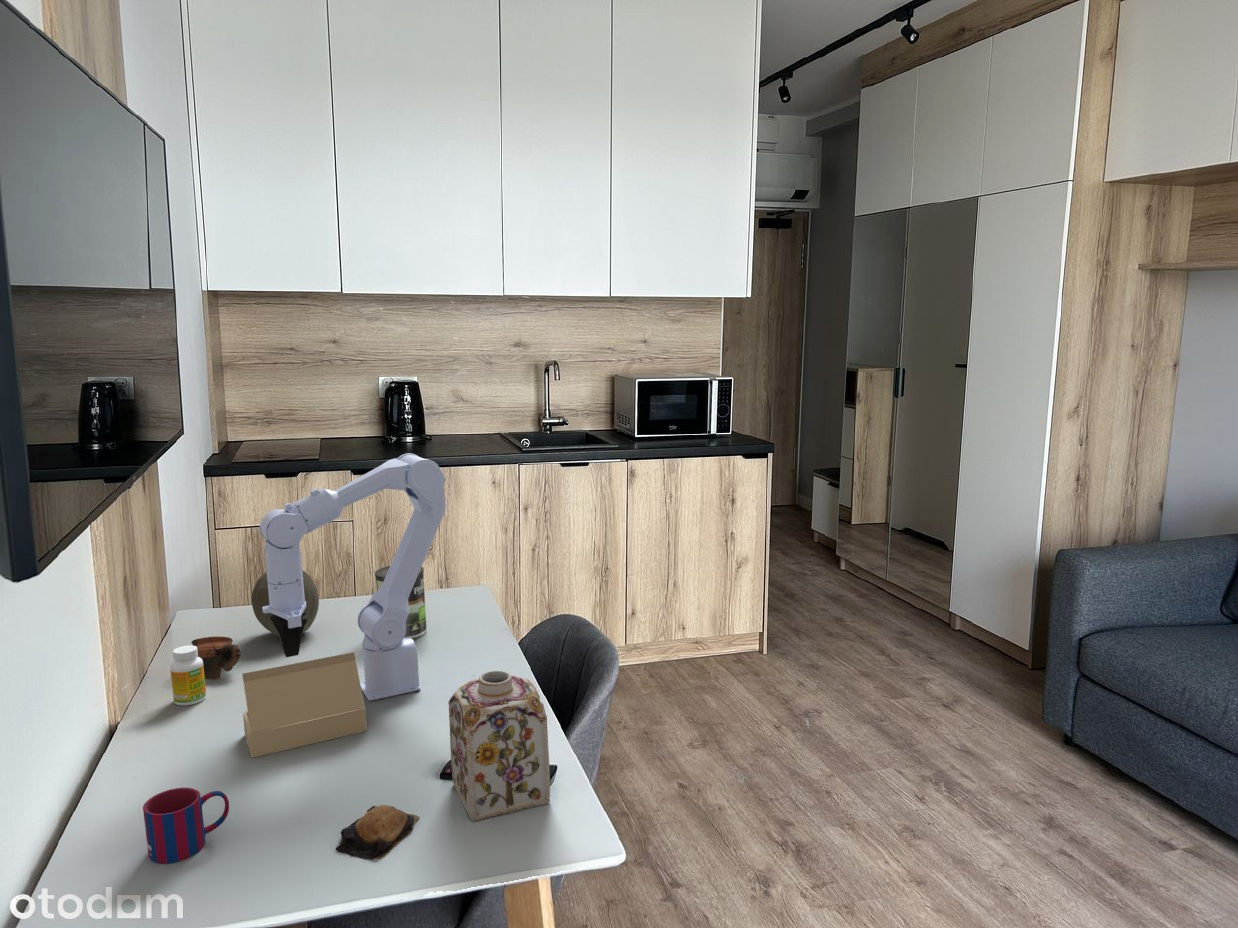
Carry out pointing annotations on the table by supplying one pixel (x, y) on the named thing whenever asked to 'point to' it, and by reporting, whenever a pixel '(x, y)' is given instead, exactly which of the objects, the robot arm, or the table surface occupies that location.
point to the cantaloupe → (262, 599)
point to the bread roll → (376, 832)
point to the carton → (304, 732)
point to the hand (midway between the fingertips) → (291, 654)
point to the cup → (177, 824)
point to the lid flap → (302, 691)
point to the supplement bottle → (187, 676)
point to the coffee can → (411, 604)
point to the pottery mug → (217, 655)
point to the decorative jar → (499, 745)
